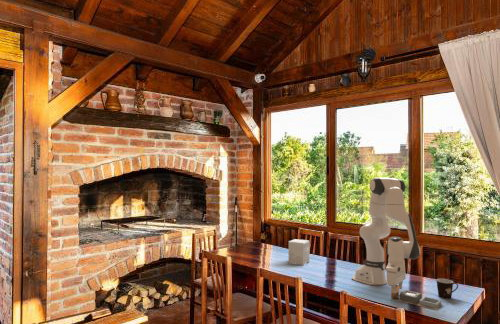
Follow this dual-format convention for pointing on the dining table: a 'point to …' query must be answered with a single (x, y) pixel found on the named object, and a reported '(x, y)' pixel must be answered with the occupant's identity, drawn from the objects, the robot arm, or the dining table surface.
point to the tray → (430, 302)
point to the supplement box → (298, 251)
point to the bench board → (419, 304)
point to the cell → (395, 295)
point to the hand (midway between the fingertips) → (397, 290)
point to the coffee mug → (445, 288)
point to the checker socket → (410, 297)
